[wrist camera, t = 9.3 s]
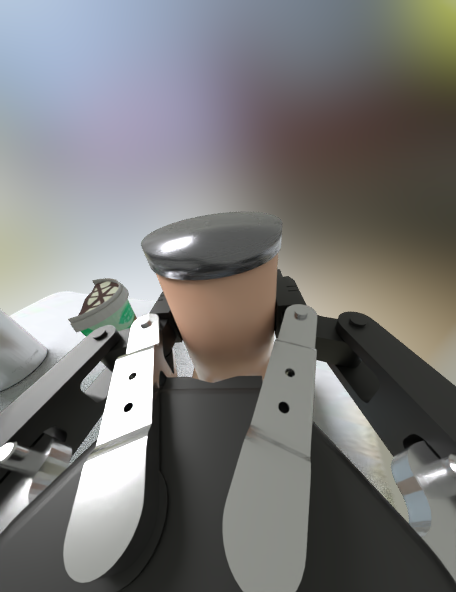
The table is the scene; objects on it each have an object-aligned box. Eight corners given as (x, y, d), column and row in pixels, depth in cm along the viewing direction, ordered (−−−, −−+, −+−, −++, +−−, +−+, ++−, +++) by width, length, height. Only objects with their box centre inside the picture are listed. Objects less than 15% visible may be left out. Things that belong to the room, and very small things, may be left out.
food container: (145, 352, 30) (115, 308, 24) (106, 364, 29) (66, 321, 23) (148, 309, 40) (127, 270, 34) (119, 317, 39) (93, 279, 33)
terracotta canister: (195, 417, 11) (108, 263, 5) (207, 348, 16) (168, 219, 9) (279, 417, 11) (301, 244, 5) (267, 346, 15) (270, 206, 9)
